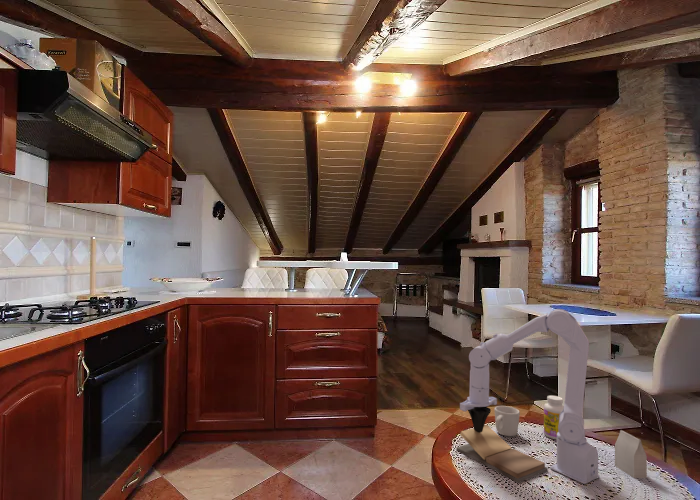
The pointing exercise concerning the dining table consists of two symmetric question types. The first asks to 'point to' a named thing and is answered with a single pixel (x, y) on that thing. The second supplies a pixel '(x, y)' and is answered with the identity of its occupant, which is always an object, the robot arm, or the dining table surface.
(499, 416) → the cup
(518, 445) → the dining table surface
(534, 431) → the dining table surface
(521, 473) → the floor board
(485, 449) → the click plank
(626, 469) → the beige gabled carton
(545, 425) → the supplement bottle
